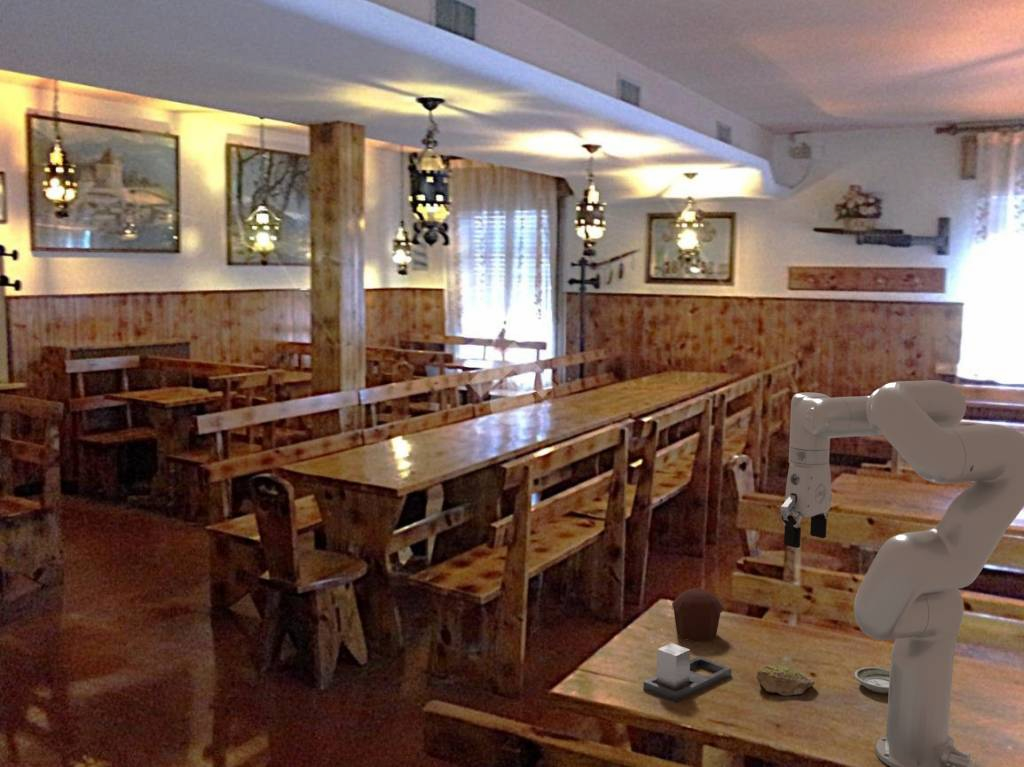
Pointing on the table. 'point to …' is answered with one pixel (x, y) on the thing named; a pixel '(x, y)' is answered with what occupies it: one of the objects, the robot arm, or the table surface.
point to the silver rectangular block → (673, 667)
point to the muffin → (697, 614)
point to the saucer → (874, 679)
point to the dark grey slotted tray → (691, 680)
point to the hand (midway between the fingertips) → (805, 541)
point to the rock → (783, 680)
